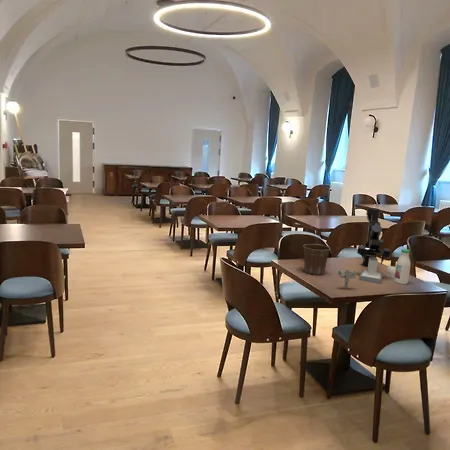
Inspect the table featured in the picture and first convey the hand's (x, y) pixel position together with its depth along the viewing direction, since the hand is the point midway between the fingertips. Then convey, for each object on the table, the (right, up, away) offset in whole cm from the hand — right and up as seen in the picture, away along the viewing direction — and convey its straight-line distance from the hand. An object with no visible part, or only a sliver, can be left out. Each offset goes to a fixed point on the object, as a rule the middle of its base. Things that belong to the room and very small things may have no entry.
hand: (373, 263), depth 261 cm
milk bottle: (+16, -11, -1) cm, 20 cm away
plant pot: (-34, -6, +8) cm, 35 cm away
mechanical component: (-22, -12, -20) cm, 32 cm away
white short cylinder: (+14, -9, +10) cm, 20 cm away
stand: (0, -9, +3) cm, 10 cm away
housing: (0, -7, +3) cm, 7 cm away
